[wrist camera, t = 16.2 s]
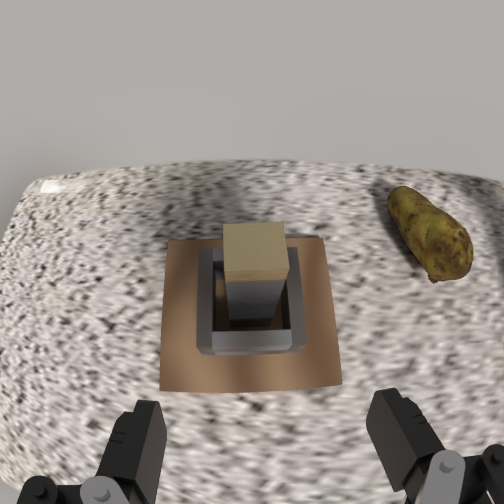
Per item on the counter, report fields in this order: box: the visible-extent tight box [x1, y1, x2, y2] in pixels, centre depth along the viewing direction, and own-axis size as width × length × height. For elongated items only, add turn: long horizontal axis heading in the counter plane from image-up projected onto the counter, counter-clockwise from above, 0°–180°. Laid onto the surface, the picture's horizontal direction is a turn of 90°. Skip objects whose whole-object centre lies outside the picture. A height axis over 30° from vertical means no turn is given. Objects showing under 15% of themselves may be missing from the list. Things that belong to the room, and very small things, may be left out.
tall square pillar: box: [223, 222, 290, 328], centre depth 22 cm, size 4×3×12 cm
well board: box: [160, 238, 342, 393], centre depth 26 cm, size 16×15×5 cm
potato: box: [388, 186, 474, 284], centre depth 29 cm, size 8×13×8 cm, turn 174°
